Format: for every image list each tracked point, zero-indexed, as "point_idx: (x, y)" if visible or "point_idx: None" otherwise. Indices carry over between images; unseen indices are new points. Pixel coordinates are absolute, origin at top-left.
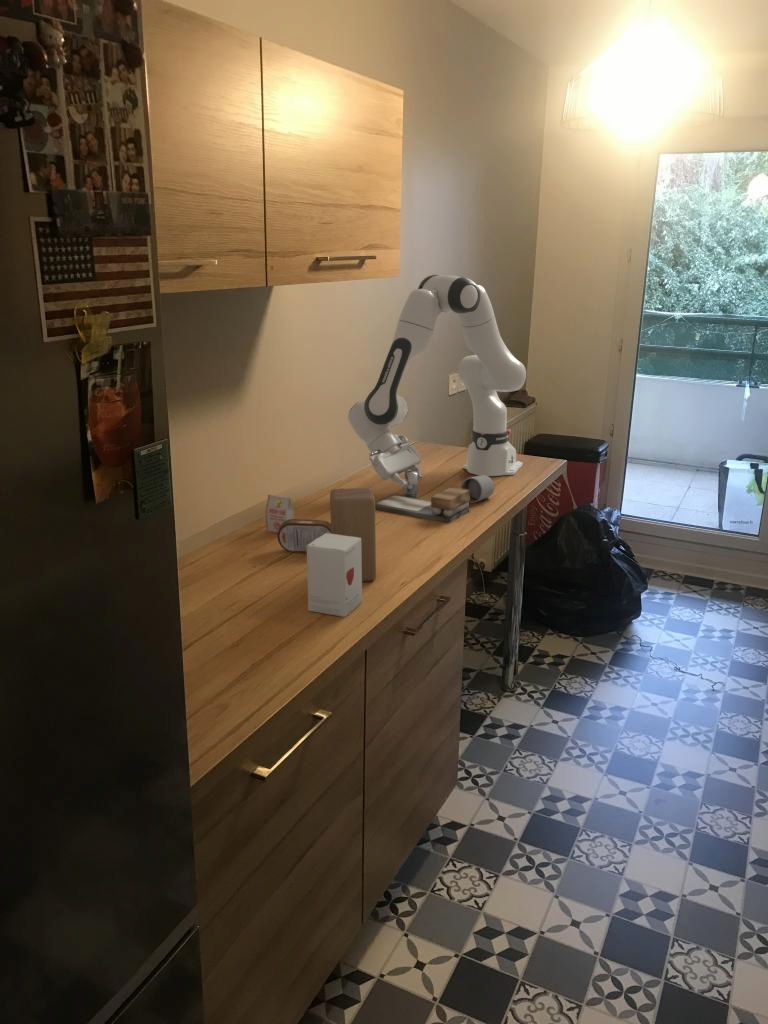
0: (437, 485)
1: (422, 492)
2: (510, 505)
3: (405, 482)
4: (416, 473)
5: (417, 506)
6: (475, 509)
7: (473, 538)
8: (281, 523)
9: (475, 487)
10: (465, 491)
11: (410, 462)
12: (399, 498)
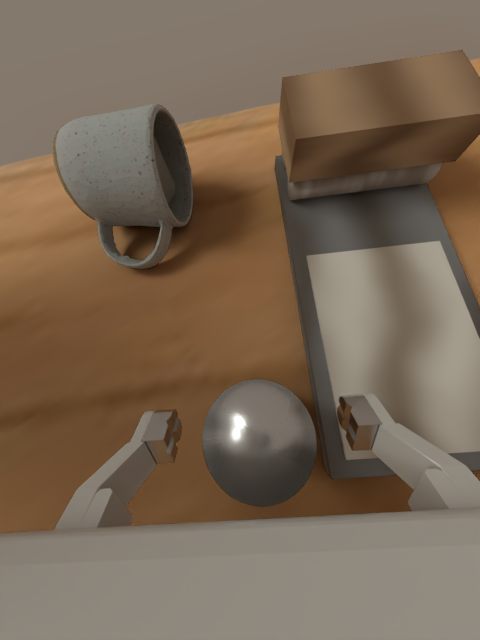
0: (47, 419)
1: None
2: None
3: (358, 401)
4: (259, 379)
5: (397, 272)
6: (245, 168)
7: None
8: None
9: (160, 157)
10: (314, 75)
11: (135, 569)
12: None
